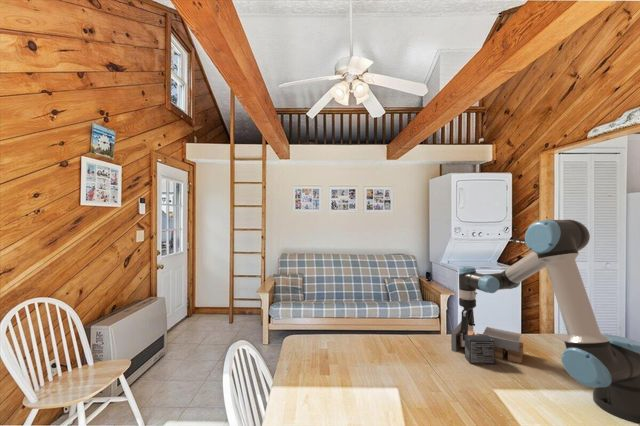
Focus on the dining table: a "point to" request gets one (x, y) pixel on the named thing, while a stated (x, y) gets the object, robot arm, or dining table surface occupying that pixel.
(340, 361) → the dining table surface
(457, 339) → the bar
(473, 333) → the block
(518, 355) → the bed
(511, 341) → the slab
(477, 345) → the small box
